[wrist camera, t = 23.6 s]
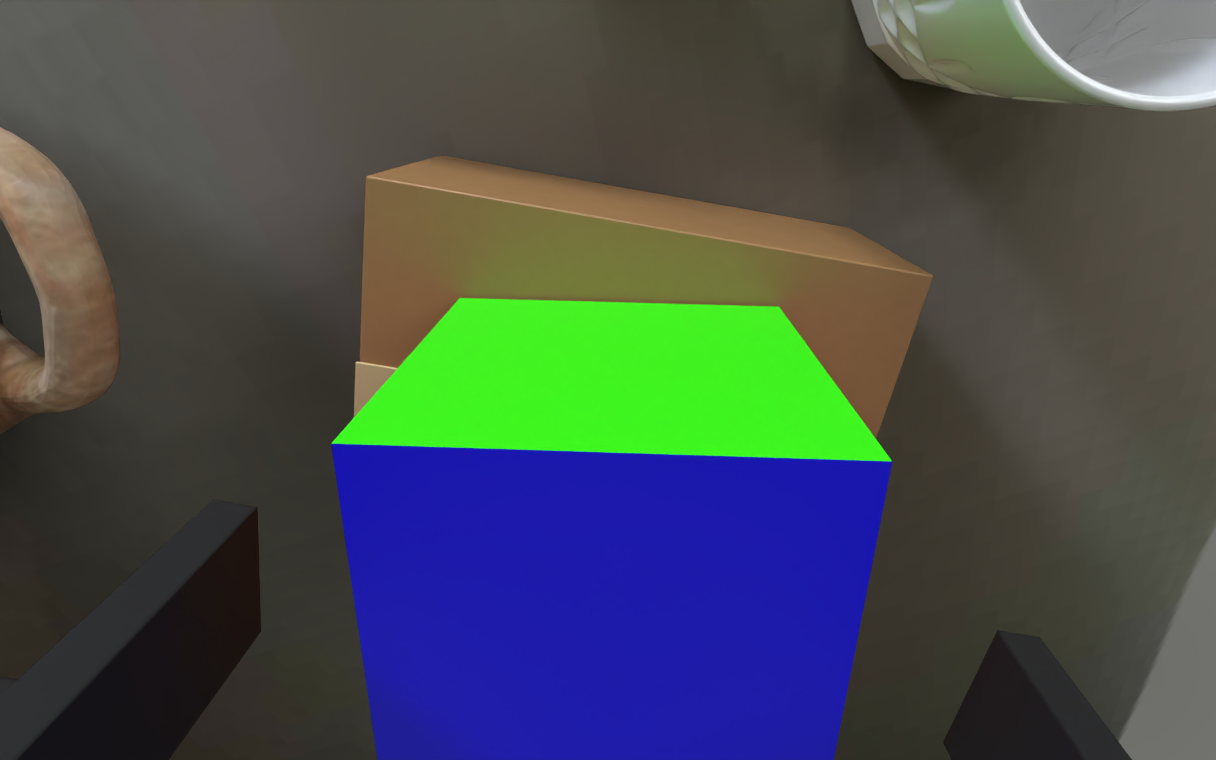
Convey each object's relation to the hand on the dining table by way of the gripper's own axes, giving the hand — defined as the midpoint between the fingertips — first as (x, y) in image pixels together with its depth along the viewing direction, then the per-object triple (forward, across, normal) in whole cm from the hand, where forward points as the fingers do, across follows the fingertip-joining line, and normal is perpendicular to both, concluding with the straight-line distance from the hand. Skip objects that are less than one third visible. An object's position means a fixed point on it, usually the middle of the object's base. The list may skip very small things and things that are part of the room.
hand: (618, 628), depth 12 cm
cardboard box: (+14, 0, 0) cm, 14 cm away
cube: (+7, 0, 0) cm, 7 cm away
